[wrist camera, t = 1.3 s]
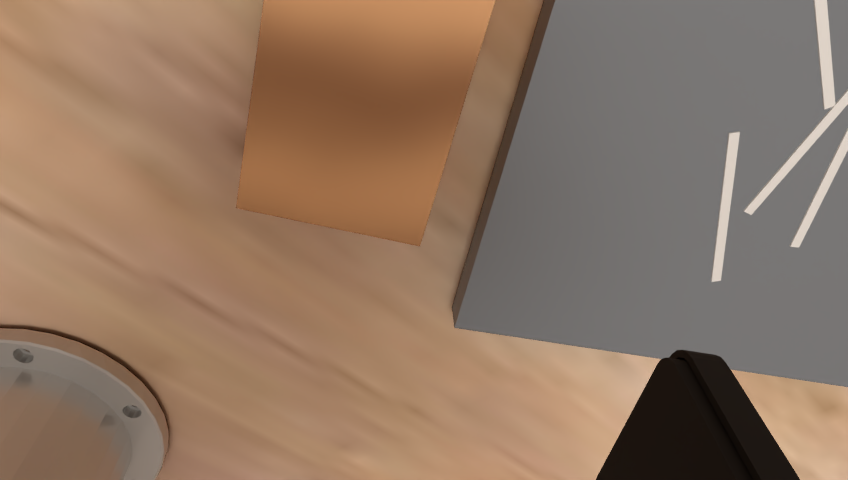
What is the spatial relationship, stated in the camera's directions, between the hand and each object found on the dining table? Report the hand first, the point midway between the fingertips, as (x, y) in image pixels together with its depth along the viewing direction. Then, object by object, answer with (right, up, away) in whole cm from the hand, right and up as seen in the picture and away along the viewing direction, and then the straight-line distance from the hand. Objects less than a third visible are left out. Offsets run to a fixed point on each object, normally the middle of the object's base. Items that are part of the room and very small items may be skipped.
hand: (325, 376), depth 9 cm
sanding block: (-1, +9, +15) cm, 18 cm away
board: (+16, +6, +18) cm, 24 cm away
